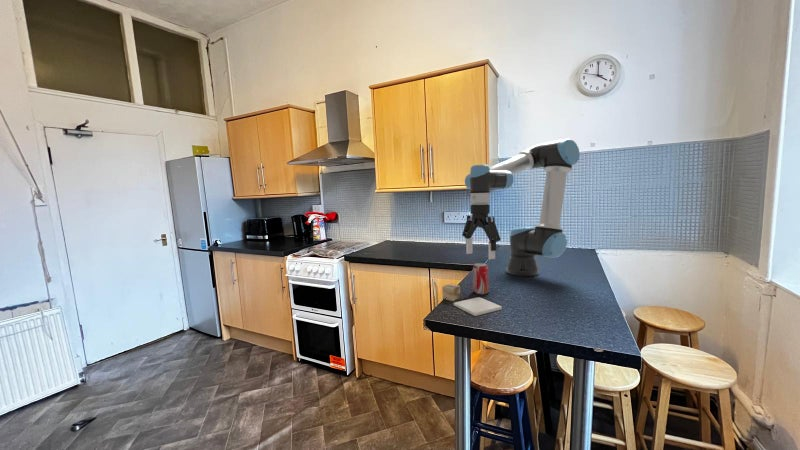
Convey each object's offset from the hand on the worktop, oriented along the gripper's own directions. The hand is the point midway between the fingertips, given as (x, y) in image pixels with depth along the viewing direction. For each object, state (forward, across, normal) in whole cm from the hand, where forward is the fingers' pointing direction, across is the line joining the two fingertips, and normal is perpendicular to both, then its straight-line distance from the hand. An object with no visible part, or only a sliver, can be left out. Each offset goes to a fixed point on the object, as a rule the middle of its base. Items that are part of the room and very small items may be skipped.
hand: (480, 256), depth 129 cm
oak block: (+16, -1, -14) cm, 21 cm away
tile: (+16, +12, -12) cm, 23 cm away
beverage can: (+16, 0, 0) cm, 16 cm away
